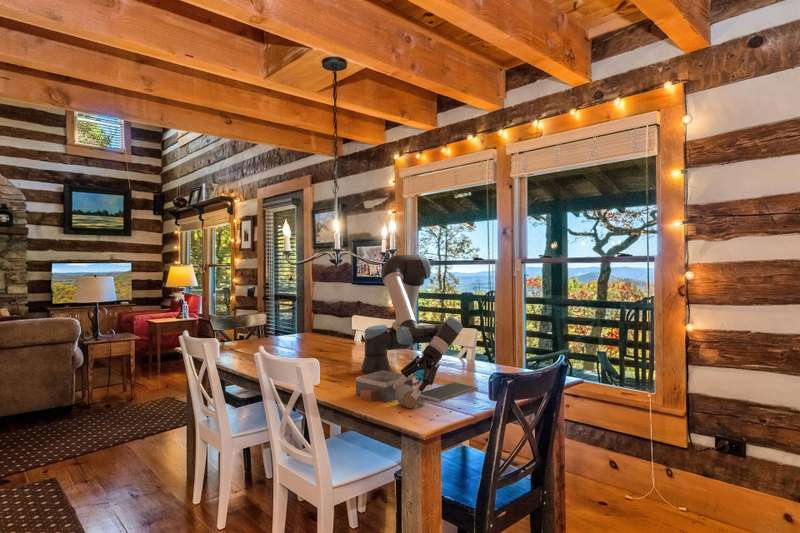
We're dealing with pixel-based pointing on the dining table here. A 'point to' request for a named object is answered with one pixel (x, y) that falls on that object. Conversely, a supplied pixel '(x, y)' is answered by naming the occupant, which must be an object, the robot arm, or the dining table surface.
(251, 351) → the dining table surface
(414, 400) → the ceramic mug
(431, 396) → the grey flat slab
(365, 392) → the grey hollow block
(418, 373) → the gear
